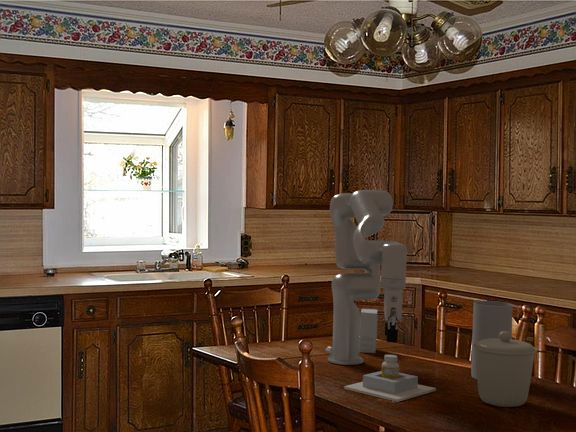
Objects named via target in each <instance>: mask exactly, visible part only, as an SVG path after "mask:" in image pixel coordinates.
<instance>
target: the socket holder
mask: <svg viewBox="0 0 576 432" xmlns="http://www.w3.org/2000/svg"><path fill="white" fill-rule="evenodd" d="M381 374H382V370H380V371H376V372H372V373H367V374H363V375H362V381H361V382H356V383H352V384H348V385H344V386H343V389H344V390H347V391H351V392H356V393H360V394H364V395H367V396H372V397H374V398H375V397H376V398H380V399H385V400H388V401H391V400H392V402H395V401H396V403H399V402H401V401H406V400H409V399H413V398H416V397H419V396H422V395H426V394H430V393H433V392H436V391H437V389H436V387H433V386H428V385H423V384H419V383H418V380H419V377H418V376H417V375H413V374H408V373H405V372H404V373H403V372H399V378H398V379H394V380H392V379H387V378H383V377H381Z"/></svg>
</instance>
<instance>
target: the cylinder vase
mask: <svg viewBox="0 0 576 432" xmlns="http://www.w3.org/2000/svg"><path fill="white" fill-rule="evenodd" d="M472 306H473V312H472V335H471V336H472V340H471V363H470V364H471V367H470V368H471V369H470V370H471V371H470V373H471V375H470V376H471V378H472V379H474V380H476V381H477V370H476V357H475V348H473V344H474V343H477V342H478V341H480V340H483V339H490V338H499V333H500V332H502V331H508V332H509V333H510V334H511V339H513V338H512V336H513V335H512V333H513V309H514V307H513V306H514V305H513V303H510V302H504V301H495V300H477V301H474V302H473V305H472Z"/></svg>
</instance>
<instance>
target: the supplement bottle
mask: <svg viewBox="0 0 576 432" xmlns="http://www.w3.org/2000/svg"><path fill="white" fill-rule="evenodd" d="M383 357H384V358H383V359H384V361H383V362H382V363H381V371H382V374H381V377H383V378H387V379H392V380H394V379H398V378H399V373H400V364H399V363H398V361H399V360H398V356H397V355H395V354H384V356H383Z"/></svg>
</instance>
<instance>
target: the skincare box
mask: <svg viewBox="0 0 576 432" xmlns="http://www.w3.org/2000/svg"><path fill="white" fill-rule="evenodd" d="M378 312H379V311H378V309H374V308H373V309H372V308H361V311H360V340H359V353H365V354H366V353H367V354H376V352H377V351H376V350H377V336H378Z"/></svg>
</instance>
